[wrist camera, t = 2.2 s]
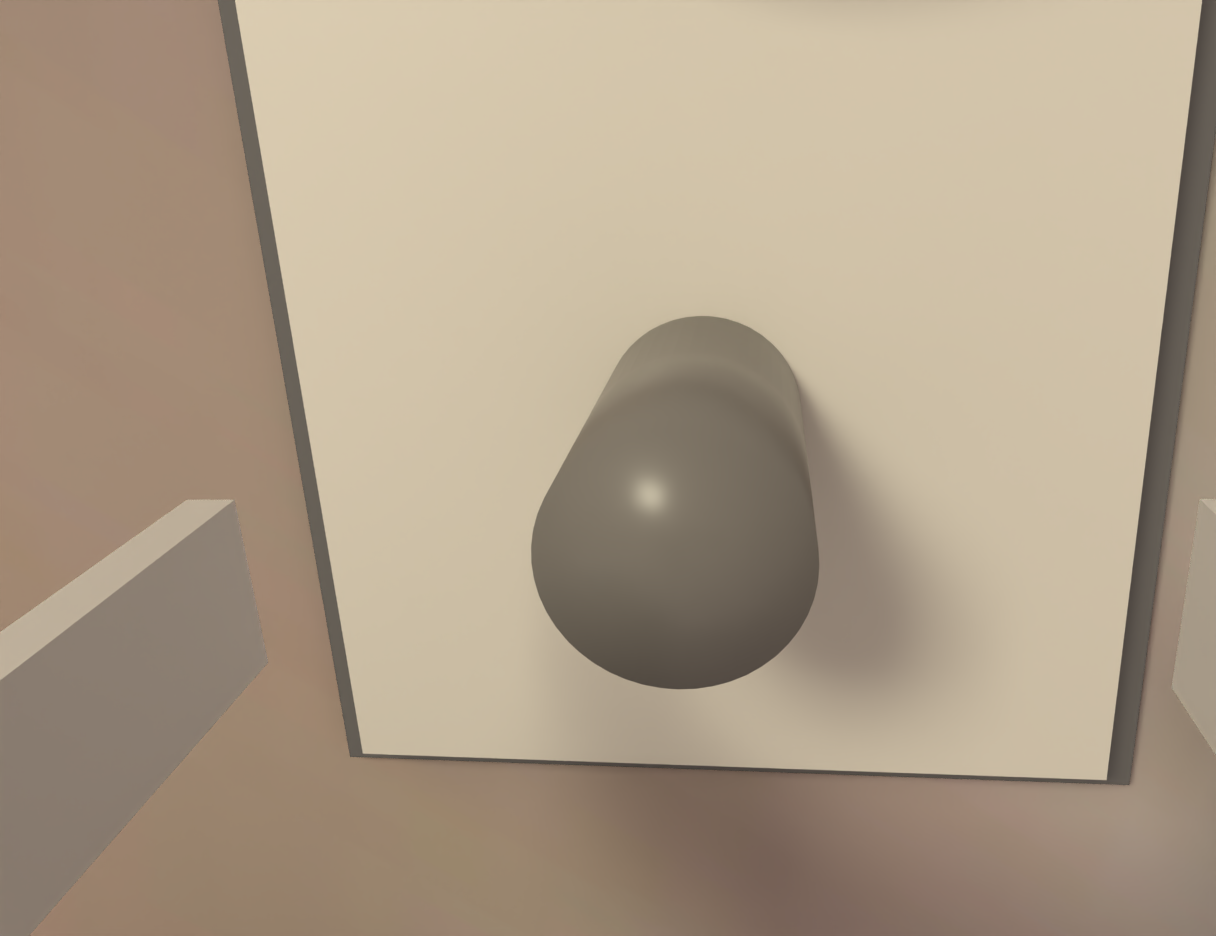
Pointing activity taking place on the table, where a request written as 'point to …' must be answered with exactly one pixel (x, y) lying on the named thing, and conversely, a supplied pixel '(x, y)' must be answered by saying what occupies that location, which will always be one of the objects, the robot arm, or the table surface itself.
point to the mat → (1208, 113)
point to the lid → (729, 366)
